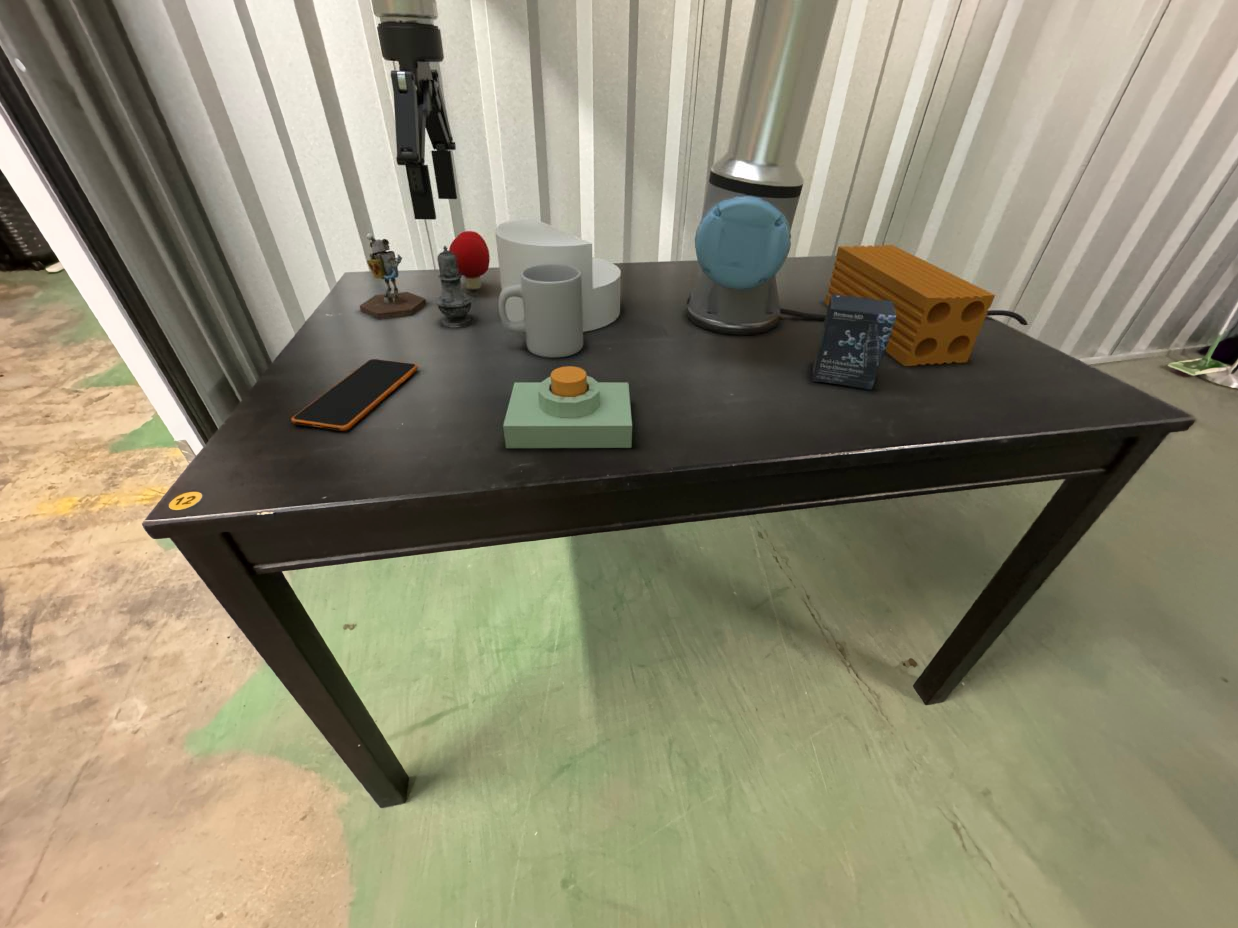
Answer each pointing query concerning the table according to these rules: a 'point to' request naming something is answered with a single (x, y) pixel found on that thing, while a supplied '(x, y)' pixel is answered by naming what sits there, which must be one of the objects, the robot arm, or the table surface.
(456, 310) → the salt shaker
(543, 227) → the container
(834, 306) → the box
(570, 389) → the orange push button
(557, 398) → the green button housing
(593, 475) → the table surface
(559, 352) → the mug
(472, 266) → the red mushroom
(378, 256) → the robot figurine
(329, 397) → the smartphone
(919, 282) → the brick
